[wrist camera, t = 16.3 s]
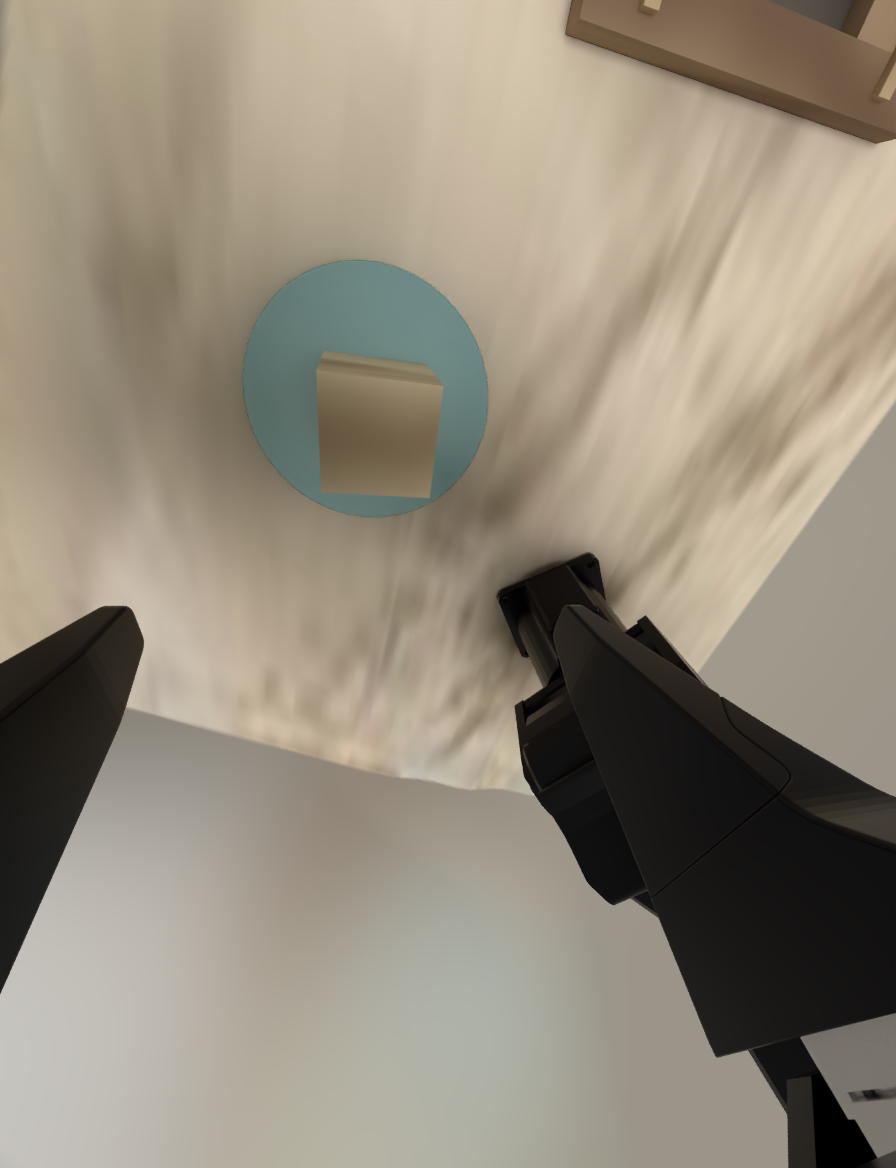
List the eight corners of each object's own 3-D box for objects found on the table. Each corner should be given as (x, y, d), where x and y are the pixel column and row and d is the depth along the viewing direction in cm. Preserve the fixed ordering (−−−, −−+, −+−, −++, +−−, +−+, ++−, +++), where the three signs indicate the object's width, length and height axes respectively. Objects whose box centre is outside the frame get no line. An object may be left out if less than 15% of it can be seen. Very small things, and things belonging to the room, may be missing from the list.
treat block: (417, 460, 19) (429, 498, 16) (326, 453, 18) (321, 492, 15) (427, 364, 17) (443, 385, 14) (323, 350, 16) (316, 371, 13)
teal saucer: (509, 459, 21) (514, 465, 20) (331, 539, 22) (330, 547, 21) (433, 206, 14) (436, 204, 14) (188, 334, 15) (181, 336, 15)
